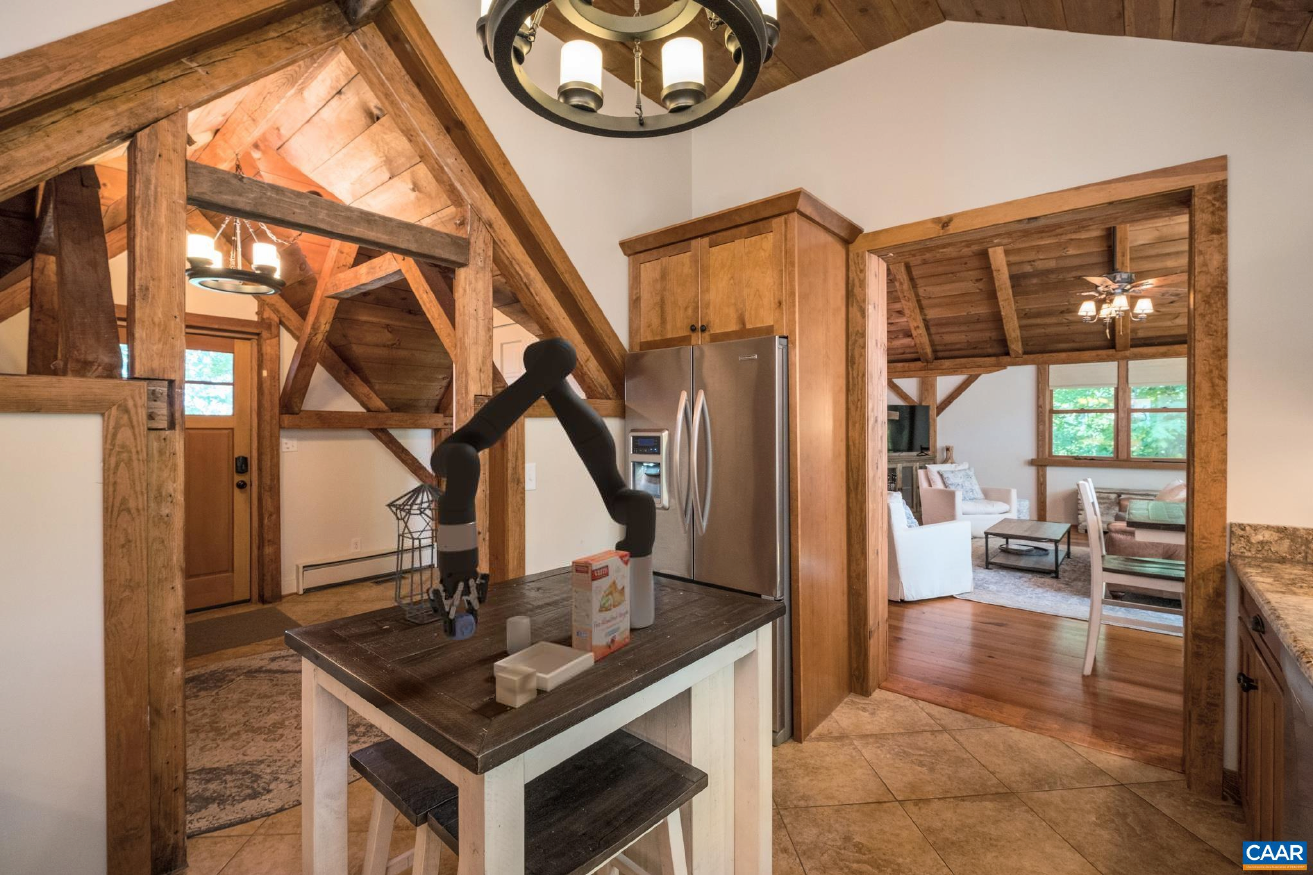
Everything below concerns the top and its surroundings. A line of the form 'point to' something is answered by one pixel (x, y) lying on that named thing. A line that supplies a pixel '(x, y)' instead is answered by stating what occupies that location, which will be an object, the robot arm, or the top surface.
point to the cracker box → (601, 602)
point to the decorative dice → (463, 626)
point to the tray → (549, 663)
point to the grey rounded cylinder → (518, 634)
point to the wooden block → (516, 685)
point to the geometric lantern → (416, 491)
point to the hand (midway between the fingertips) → (461, 631)
